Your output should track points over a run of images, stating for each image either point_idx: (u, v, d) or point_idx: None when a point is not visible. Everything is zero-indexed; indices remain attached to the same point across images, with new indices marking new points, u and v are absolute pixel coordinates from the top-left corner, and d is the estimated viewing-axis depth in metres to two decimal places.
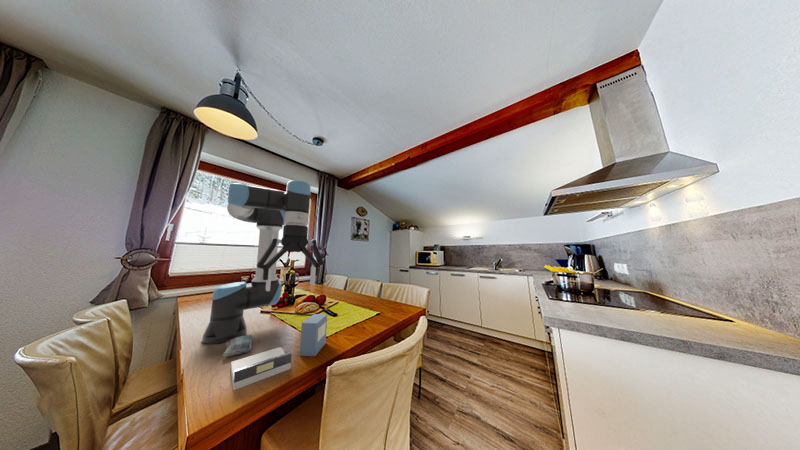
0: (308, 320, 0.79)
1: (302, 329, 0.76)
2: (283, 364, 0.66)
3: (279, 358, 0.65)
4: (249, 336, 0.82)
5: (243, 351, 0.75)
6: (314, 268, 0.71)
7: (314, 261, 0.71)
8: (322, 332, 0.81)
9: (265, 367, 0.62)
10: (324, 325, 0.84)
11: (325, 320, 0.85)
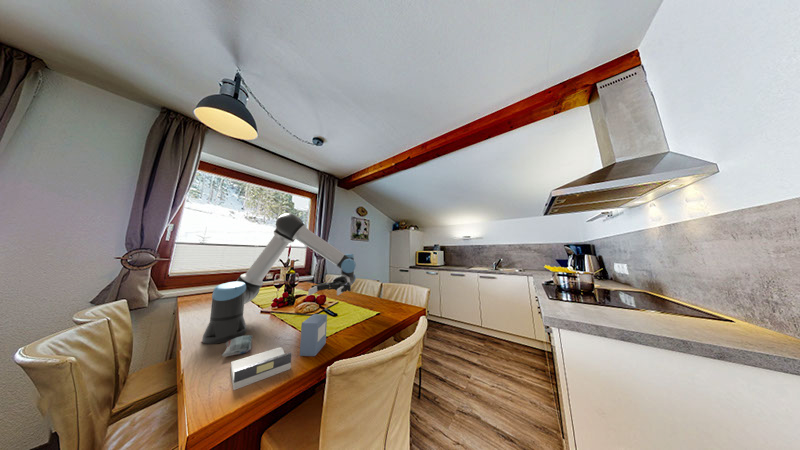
0: (308, 320, 0.79)
1: (302, 329, 0.76)
2: (283, 364, 0.66)
3: (279, 358, 0.65)
4: (249, 336, 0.82)
5: (242, 351, 0.75)
6: None
7: None
8: (322, 332, 0.81)
9: (265, 367, 0.62)
10: (324, 325, 0.84)
11: (325, 320, 0.85)
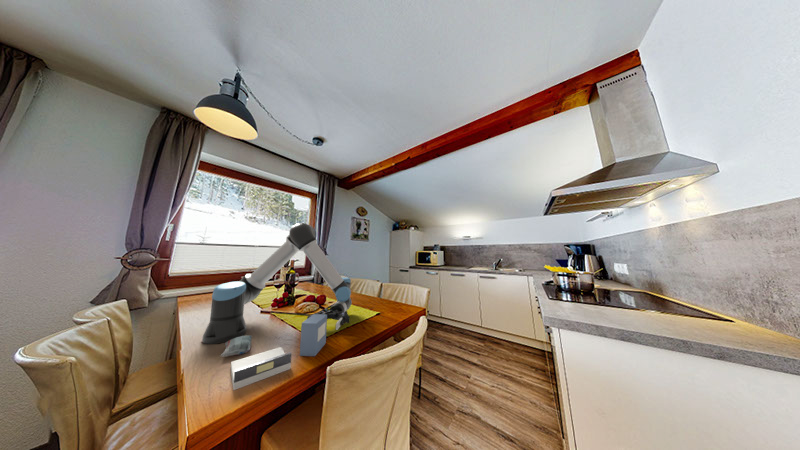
0: (308, 320, 0.79)
1: (302, 329, 0.76)
2: (283, 364, 0.66)
3: (279, 358, 0.65)
4: (248, 336, 0.81)
5: (242, 352, 0.75)
6: None
7: None
8: (322, 332, 0.81)
9: (265, 367, 0.62)
10: (324, 325, 0.84)
11: (325, 320, 0.85)
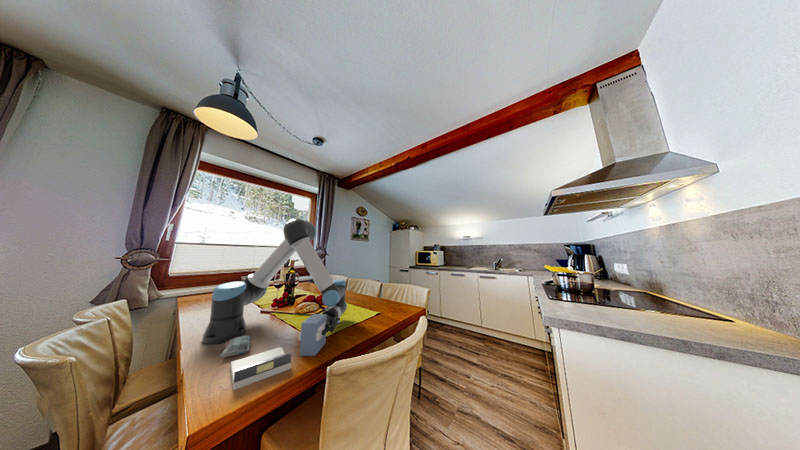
0: (308, 320, 0.79)
1: (302, 329, 0.76)
2: (283, 364, 0.66)
3: (279, 358, 0.65)
4: (248, 337, 0.81)
5: (241, 352, 0.75)
6: None
7: None
8: None
9: (265, 367, 0.62)
10: (324, 325, 0.84)
11: (325, 320, 0.85)
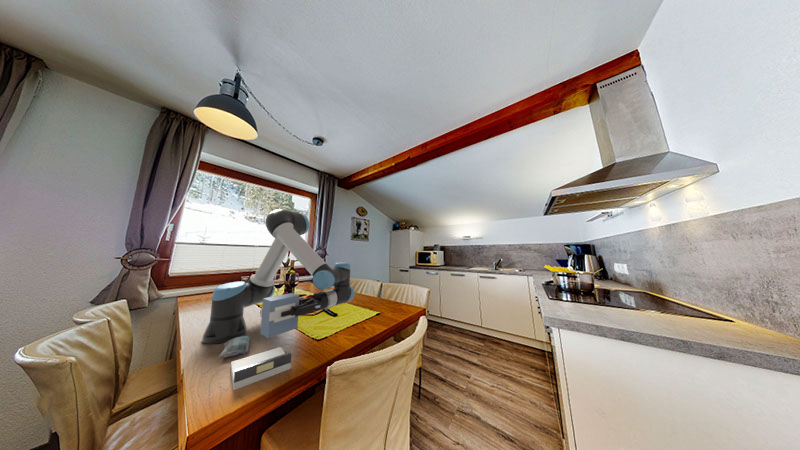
0: (273, 297, 0.72)
1: (263, 305, 0.70)
2: (283, 364, 0.66)
3: (279, 358, 0.65)
4: (247, 337, 0.81)
5: (240, 352, 0.75)
6: None
7: None
8: None
9: (265, 367, 0.62)
10: None
11: (295, 301, 0.74)
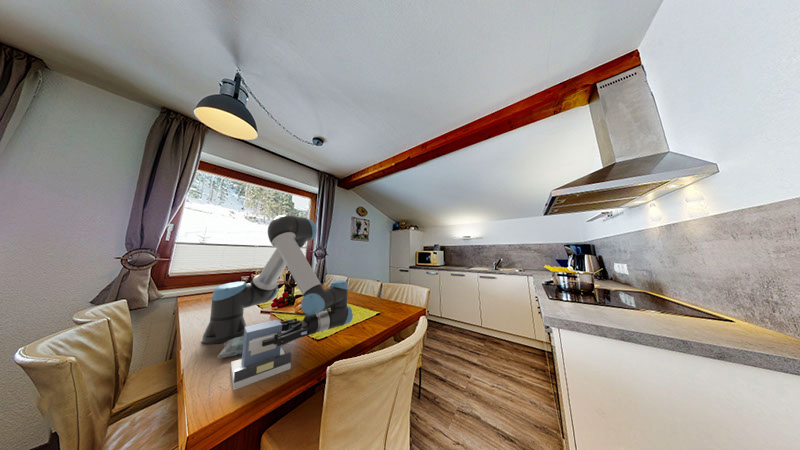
0: (255, 325, 0.68)
1: (244, 334, 0.67)
2: (283, 364, 0.66)
3: (279, 358, 0.65)
4: None
5: (239, 353, 0.74)
6: None
7: None
8: None
9: (265, 367, 0.62)
10: None
11: (276, 331, 0.69)
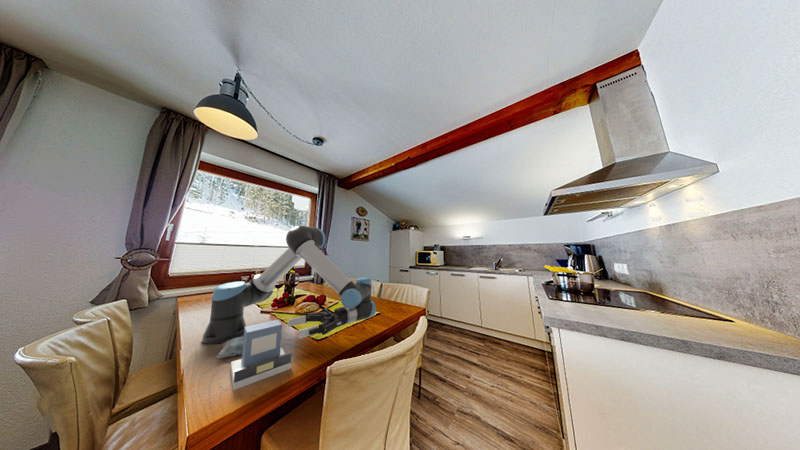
0: (255, 325, 0.68)
1: (244, 334, 0.67)
2: (283, 364, 0.66)
3: (279, 358, 0.65)
4: None
5: (237, 353, 0.74)
6: None
7: None
8: (264, 345, 0.66)
9: (265, 367, 0.62)
10: (273, 337, 0.68)
11: (276, 331, 0.69)
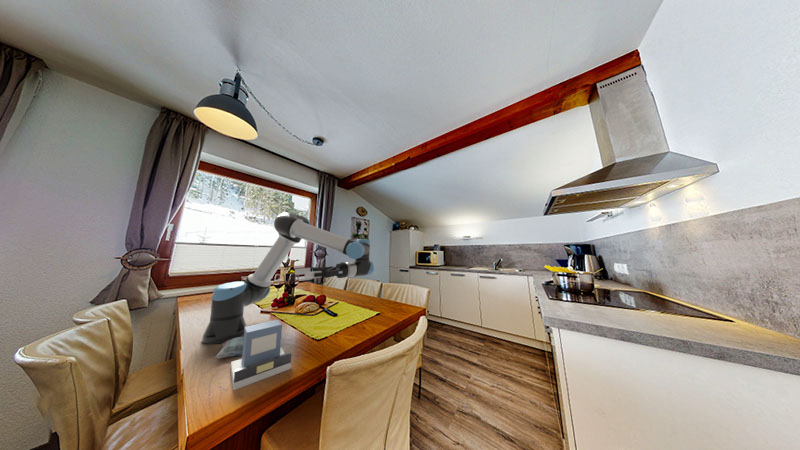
0: (255, 325, 0.68)
1: (244, 334, 0.67)
2: (283, 364, 0.66)
3: (279, 358, 0.65)
4: None
5: (236, 353, 0.74)
6: None
7: None
8: (264, 345, 0.66)
9: (265, 367, 0.62)
10: (273, 337, 0.68)
11: (276, 331, 0.69)
